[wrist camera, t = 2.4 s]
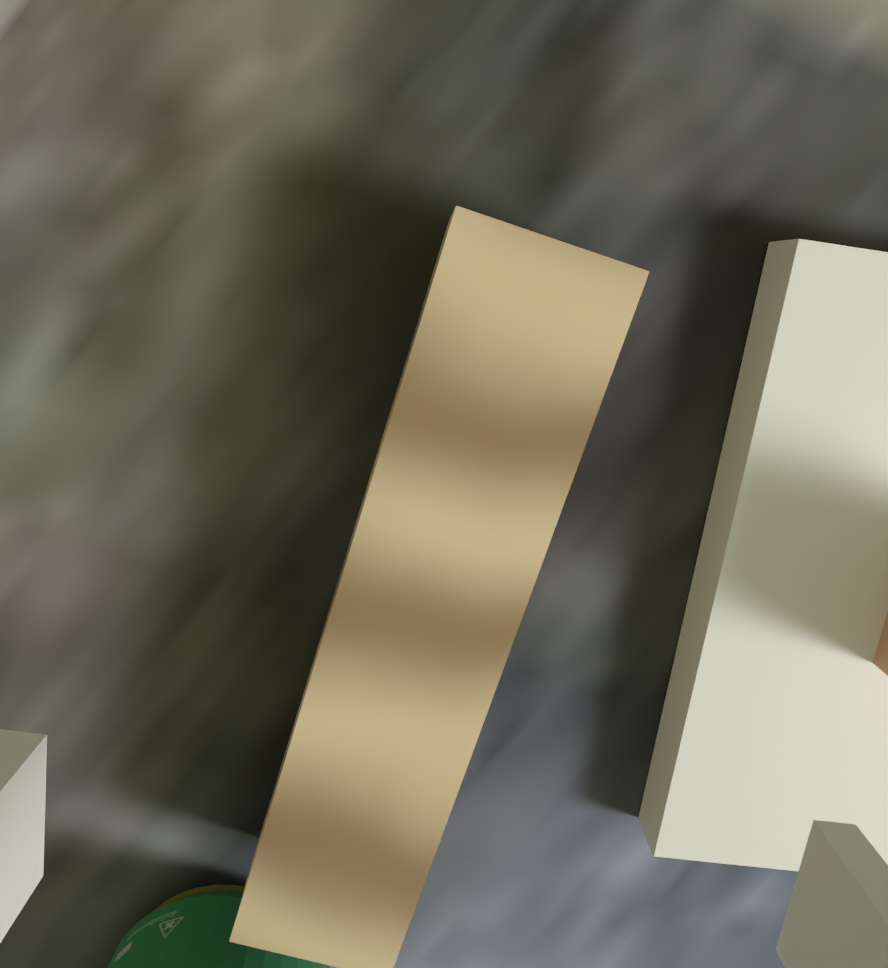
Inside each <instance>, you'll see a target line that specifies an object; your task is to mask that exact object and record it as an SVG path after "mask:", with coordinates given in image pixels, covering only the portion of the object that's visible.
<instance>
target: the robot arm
mask: <svg viewBox="0 0 888 968" xmlns="http://www.w3.org/2000/svg"><path fill="white" fill-rule="evenodd" d="M46 756H47V735H46V734H37V733H28V732H19V731H10V730H1V729H0V943H1V941H2V940H3V938H4V937H5V935H6V934H7V932H8V930H9V929H10V927H11V926H12V924H13V923H14V921H15V919H16V918H17V916H18V915H19V913H20V912H21V910H22V908H23V907H24V905H25V904H26V902H27V901H28V899H29V897H30V896H31V894H32V893H33V891H34V890H35V888H36V886H37V885H38V883H39V882H40V880H41V879H42V877H43V873H44V834H45V795H46ZM776 951H777V953H778V955H779V957H780V959H781V961H782V963H783V965H784V967H785V968H888V865H887V864H886V862H885V861H884V860H883V858H882V857H881V856H880V855H879V853H878V852H877V851H876V850H875V848H874V847H873V846H872V845H871V843H870V842H869V841H868V839H867V838H866V837H865V836H864V834H863V833H862V832H861V831H860V829H859V828H858V827H857V825H855V824H846V823H837V822H828V821H819V820H813V824H812V827H811V830H810V834H809V837H808V841H807V844H806V848H805V851H804V854H803V858H802V861H801V865H800V868H799V872H798V875H797V879H796V882H795V885H794V889H793V892H792V896H791V899H790V903H789V906H788V909H787V913H786V916H785V920H784V923H783V927H782V930H781V934H780V937H779V940H778V944H777V947H776Z"/></svg>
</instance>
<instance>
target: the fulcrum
mask: <svg viewBox="0 0 888 968" xmlns="http://www.w3.org/2000/svg"><path fill="white" fill-rule="evenodd" d="M638 819H639V821H640V824H641V826H642V829H643V831H644V834H645V836H646V838H647V841H648V843H649V846H650V848H651V851H652V853H653V856H655V857H664V858H674V859H684V860H694V861H703V862H713V863H723V864H733V865H742V866H752V867H762V868H772V869H781V870H791V871H799V868H800V865H801V861H802V858H803V854H804V851H805V848H806V844H807V841H808V837H809V834H810V830H811V827H812V824H813V820H819V821H828V822H837V823H846V824H855V825H857V827H858V828H859V829H860V831H861V832H862V833H863V834H864V836H865V837H866V838H867V839H868V841H869V842H870V843H871V845H872V846H873V847H874V848H875V850H876V851H877V852H878V853H879V855H880V856H881V857H882V858H883V860H884V861H885V862H886V864H887V865H888V252H883V251H876V250H870V249H863V248H857V247H850V246H844V245H837V244H831V243H824V242H818V241H811V240H805V239H792V240H783V241H774V242H769V243H768V248H767V252H766V257H765V261H764V266H763V270H762V274H761V279H760V283H759V288H758V292H757V296H756V301H755V305H754V310H753V314H752V318H751V323H750V327H749V332H748V336H747V340H746V345H745V349H744V354H743V358H742V363H741V367H740V371H739V376H738V380H737V385H736V389H735V393H734V398H733V402H732V407H731V411H730V415H729V420H728V424H727V429H726V433H725V437H724V442H723V446H722V451H721V455H720V460H719V464H718V468H717V473H716V477H715V482H714V486H713V490H712V495H711V499H710V504H709V508H708V512H707V517H706V521H705V526H704V530H703V534H702V539H701V543H700V548H699V552H698V557H697V561H696V565H695V570H694V574H693V579H692V583H691V587H690V592H689V596H688V601H687V605H686V609H685V614H684V618H683V623H682V627H681V631H680V636H679V640H678V645H677V649H676V654H675V658H674V662H673V667H672V671H671V676H670V680H669V684H668V689H667V693H666V698H665V702H664V706H663V711H662V715H661V720H660V724H659V728H658V733H657V737H656V742H655V746H654V751H653V755H652V759H651V764H650V768H649V773H648V777H647V781H646V786H645V790H644V795H643V799H642V803H641V808H640V812H639V817H638Z"/></svg>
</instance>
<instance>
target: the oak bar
mask: <svg viewBox="0 0 888 968" xmlns="http://www.w3.org/2000/svg"><path fill="white" fill-rule="evenodd" d="M648 274H649V271H647V270H644V269H641V268H638V267H635V266H632V265H629V264H626V263H623V262H620V261H617V260H614V259H611V258H608V257H606V256H603V255H600V254H597V253H594V252H591V251H588V250H585V249H582V248H579V247H576V246H573V245H570V244H568V243H565V242H562V241H559V240H556V239H553V238H550V237H547V236H544V235H541V234H538V233H535V232H532V231H529V230H527V229H524V228H521V227H518V226H515V225H512V224H509V223H506V222H503V221H500V220H497V219H494V218H491V217H489V216H486V215H483V214H480V213H477V212H474V211H471V210H468V209H465V208H462V207H459V206H456V207H455V209H454V211H453V213H452V215H451V217H450V219H449V222H448V225H447V229H446V232H445V235H444V238H443V241H442V245H441V248H440V251H439V254H438V258H437V261H436V264H435V267H434V271H433V274H432V277H431V280H430V284H429V287H428V290H427V293H426V297H425V300H424V303H423V306H422V310H421V313H420V316H419V319H418V323H417V326H416V329H415V332H414V336H413V339H412V342H411V345H410V349H409V352H408V355H407V358H406V362H405V365H404V368H403V371H402V375H401V378H400V381H399V384H398V388H397V391H396V394H395V397H394V401H393V404H392V407H391V410H390V414H389V417H388V420H387V423H386V427H385V430H384V433H383V436H382V440H381V443H380V446H379V449H378V453H377V456H376V459H375V462H374V466H373V469H372V472H371V475H370V479H369V482H368V485H367V488H366V492H365V495H364V498H363V501H362V505H361V508H360V511H359V514H358V518H357V521H356V524H355V527H354V531H353V534H352V537H351V540H350V544H349V547H348V550H347V553H346V557H345V560H344V563H343V566H342V570H341V573H340V576H339V579H338V583H337V586H336V589H335V592H334V596H333V599H332V602H331V605H330V609H329V612H328V615H327V618H326V622H325V625H324V628H323V631H322V635H321V638H320V641H319V644H318V648H317V651H316V654H315V657H314V661H313V664H312V667H311V670H310V674H309V677H308V680H307V683H306V687H305V690H304V693H303V696H302V700H301V703H300V706H299V709H298V712H297V716H296V719H295V722H294V725H293V729H292V732H291V735H290V738H289V742H288V745H287V748H286V751H285V755H284V758H283V761H282V764H281V768H280V771H279V774H278V777H277V781H276V784H275V787H274V790H273V794H272V797H271V800H270V803H269V807H268V810H267V813H266V816H265V820H264V823H263V826H262V829H261V833H260V836H259V839H258V843H257V846H256V850H255V853H254V857H253V860H252V864H251V867H250V871H249V874H248V877H247V881H246V884H245V888H244V891H243V895H242V898H241V902H240V905H239V909H238V912H237V916H236V919H235V923H234V926H233V930H232V933H231V936H230V940H229V942H233V943H237V944H241V945H245V946H250V947H254V948H258V949H262V950H266V951H271V952H275V953H279V954H283V955H287V956H292V957H296V958H300V959H304V960H308V961H313V962H317V963H321V964H325V965H329V966H334V967H338V968H394V965H395V962H396V960H397V957H398V954H399V951H400V949H401V946H402V943H403V941H404V938H405V935H406V932H407V930H408V927H409V924H410V921H411V919H412V916H413V913H414V911H415V908H416V905H417V902H418V900H419V897H420V894H421V892H422V889H423V886H424V883H425V881H426V878H427V875H428V873H429V870H430V867H431V864H432V862H433V859H434V856H435V853H436V851H437V848H438V845H439V843H440V840H441V837H442V834H443V832H444V829H445V826H446V824H447V821H448V818H449V815H450V813H451V810H452V807H453V805H454V802H455V799H456V796H457V794H458V791H459V788H460V785H461V783H462V780H463V777H464V775H465V772H466V769H467V766H468V764H469V761H470V758H471V756H472V753H473V750H474V747H475V745H476V742H477V739H478V737H479V734H480V731H481V728H482V726H483V723H484V720H485V717H486V715H487V712H488V709H489V707H490V704H491V701H492V698H493V696H494V693H495V690H496V688H497V685H498V682H499V679H500V677H501V674H502V671H503V669H504V666H505V663H506V660H507V658H508V655H509V652H510V649H511V647H512V644H513V641H514V639H515V636H516V633H517V630H518V628H519V625H520V622H521V620H522V617H523V614H524V611H525V609H526V606H527V603H528V601H529V598H530V595H531V592H532V590H533V587H534V584H535V581H536V579H537V576H538V573H539V571H540V568H541V565H542V562H543V560H544V557H545V554H546V552H547V549H548V546H549V543H550V541H551V538H552V535H553V533H554V530H555V527H556V524H557V522H558V519H559V516H560V513H561V511H562V508H563V505H564V503H565V500H566V497H567V494H568V492H569V489H570V486H571V484H572V481H573V478H574V475H575V473H576V470H577V467H578V465H579V462H580V459H581V456H582V454H583V451H584V448H585V445H586V443H587V440H588V437H589V435H590V432H591V429H592V426H593V424H594V421H595V418H596V416H597V413H598V410H599V407H600V405H601V402H602V399H603V397H604V394H605V391H606V388H607V386H608V383H609V380H610V377H611V375H612V372H613V369H614V367H615V364H616V361H617V358H618V356H619V353H620V350H621V348H622V345H623V342H624V339H625V337H626V334H627V331H628V329H629V326H630V323H631V320H632V318H633V315H634V312H635V309H636V307H637V304H638V301H639V299H640V296H641V293H642V290H643V288H644V285H645V282H646V280H647V277H648Z"/></svg>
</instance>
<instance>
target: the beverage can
mask: <svg viewBox="0 0 888 968" xmlns="http://www.w3.org/2000/svg"><path fill="white" fill-rule="evenodd" d="M244 888H245V886H239V885H231V884H228V885H209V886H202V887H198V888H194V889H191V890H187V891H184V892H182V893H180V894H178V895H176V896H173V897H171V898H170V899H168V900H167V901H165V902H164V903H162V904H161V905H159V906H158V907H157V908H156V909H155V910H154V911H153V912H151V913H150V914H148V915H147V916H145V917H143V918H142V919H141V920H140V921H138V922H137V923H136V924H135V925H134V926H133V927H132V928H131V929H130V930H129V931H128V932H127V933H126V935H125V936H124V937H123V939H122V940H121V941H120V943H119V945H118V947H117V949H116V951H115V952H114V954H113V956H112V959H111V961H110V963H109V965H108V967H107V968H330V967H329V965H325V964H321V963H317V962H313V961H308V960H304V959H300V958H296V957H292V956H287V955H283V954H279V953H275V952H271V951H266V950H262V949H258V948H254V947H250V946H245V945H241V944H237V943H233V942H229V940H230V936H231V933H232V930H233V926H234V923H235V919H236V916H237V912H238V909H239V905H240V902H241V898H242V895H243V891H244Z"/></svg>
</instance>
